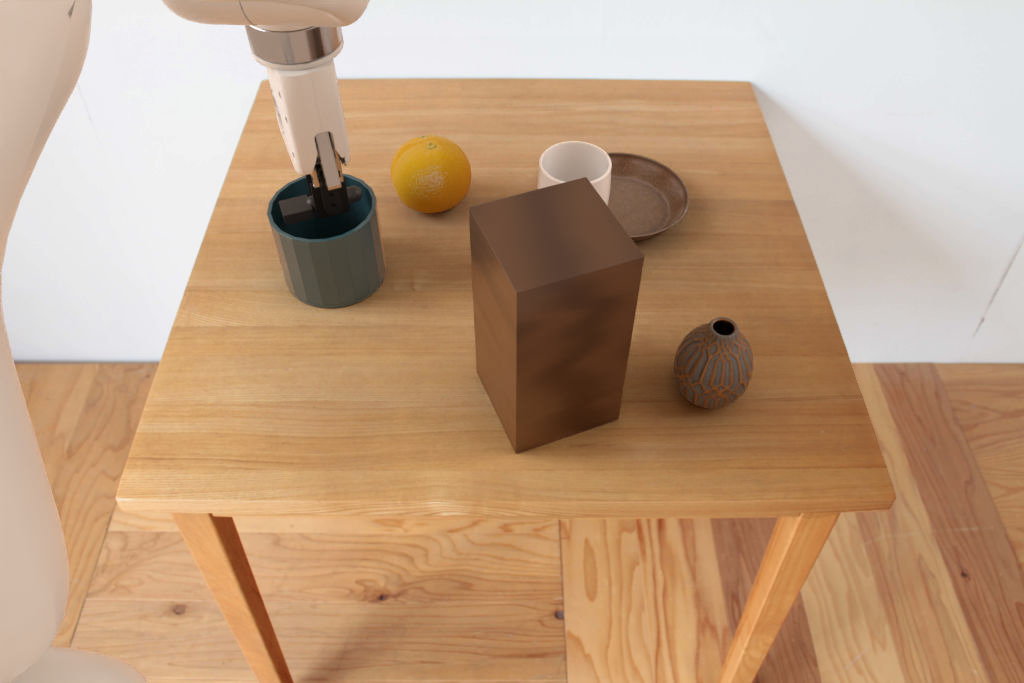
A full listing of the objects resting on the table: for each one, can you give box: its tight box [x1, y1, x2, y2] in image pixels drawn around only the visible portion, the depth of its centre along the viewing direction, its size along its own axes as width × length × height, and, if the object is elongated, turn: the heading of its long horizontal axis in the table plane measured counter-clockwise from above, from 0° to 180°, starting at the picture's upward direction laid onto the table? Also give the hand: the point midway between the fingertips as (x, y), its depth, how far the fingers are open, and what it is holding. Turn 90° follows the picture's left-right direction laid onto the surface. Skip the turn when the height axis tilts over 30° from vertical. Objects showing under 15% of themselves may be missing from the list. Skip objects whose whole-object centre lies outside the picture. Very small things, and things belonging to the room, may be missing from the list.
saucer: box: [606, 151, 690, 242], centre depth 95 cm, size 15×15×3 cm
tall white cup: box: [536, 140, 612, 206], centre depth 83 cm, size 7×7×15 cm
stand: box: [468, 177, 645, 455], centre depth 71 cm, size 10×10×20 cm
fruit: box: [389, 134, 472, 214], centre depth 94 cm, size 9×8×8 cm
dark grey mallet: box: [279, 186, 362, 225], centre depth 82 cm, size 8×2×2 cm, turn 112°
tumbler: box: [266, 173, 387, 309], centre depth 86 cm, size 10×10×9 cm
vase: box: [672, 316, 755, 409], centre depth 76 cm, size 7×7×9 cm
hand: (330, 205), depth 83 cm, fingers closed on dark grey mallet, 1 cm apart
